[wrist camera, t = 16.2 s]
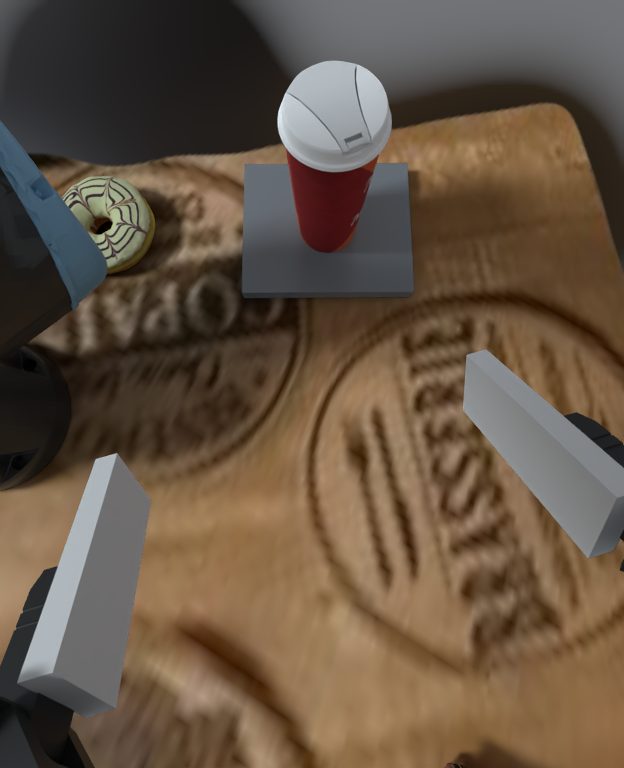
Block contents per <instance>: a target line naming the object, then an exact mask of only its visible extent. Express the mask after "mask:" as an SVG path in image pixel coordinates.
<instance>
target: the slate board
mask: <svg viewBox="0 0 624 768" xmlns="http://www.w3.org/2000/svg"><path fill="white" fill-rule="evenodd" d="M413 293H414V276H413V258H412V239H411V221H410V202H409V184H408V165H407V163H376V166H375V169H374V173H373V176H372V179H371V182H370V186H369V189H368V192H367V195H366V199H365V202H364V205H363V208H362V211H361V215H360V218H359V221H358V224H357V227H356V230H355V233H354V235H353V237H352V239H351V241H350V242H349V243H348V244H347V245H346V246H345V247H344V248H342V249H341V250H339V251H336V252H331V253H323V252H319V251H316V250H314V249H312V248H311V247H309V246H308V245H307V244H306V243H305V242H304V240H303V238H302V236H301V234H300V230H299V225H298V220H297V214H296V208H295V202H294V196H293V190H292V183H291V177H290V171H289V164H245V174H244V216H243V258H242V295H243V297H244V298H349V297H411V296H412V294H413Z"/></svg>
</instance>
